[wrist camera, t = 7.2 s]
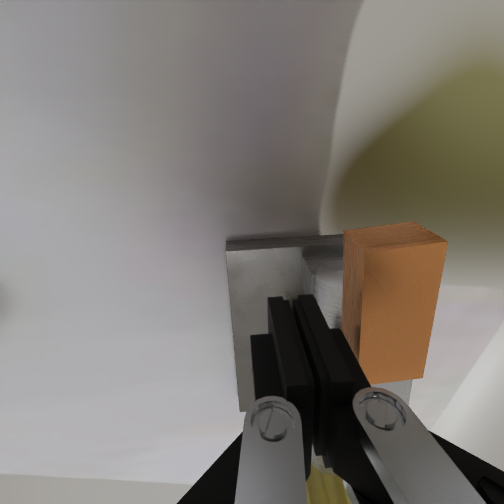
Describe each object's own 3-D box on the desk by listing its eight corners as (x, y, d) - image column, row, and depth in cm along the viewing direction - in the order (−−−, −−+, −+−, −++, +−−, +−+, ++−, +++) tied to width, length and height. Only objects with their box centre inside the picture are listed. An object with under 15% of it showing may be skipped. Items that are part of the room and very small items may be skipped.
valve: (226, 241, 19) (222, 336, 11) (411, 229, 19) (538, 312, 11) (239, 395, 25) (243, 529, 17) (380, 383, 25) (449, 509, 17)
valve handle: (385, 456, 14) (403, 494, 13) (337, 463, 14) (349, 502, 13) (417, 221, 9) (451, 240, 8) (340, 231, 9) (361, 252, 8)
